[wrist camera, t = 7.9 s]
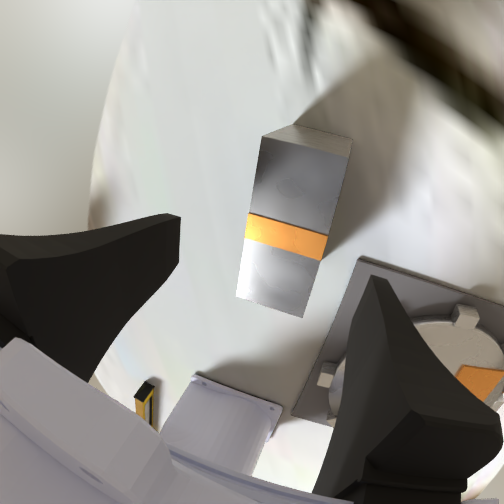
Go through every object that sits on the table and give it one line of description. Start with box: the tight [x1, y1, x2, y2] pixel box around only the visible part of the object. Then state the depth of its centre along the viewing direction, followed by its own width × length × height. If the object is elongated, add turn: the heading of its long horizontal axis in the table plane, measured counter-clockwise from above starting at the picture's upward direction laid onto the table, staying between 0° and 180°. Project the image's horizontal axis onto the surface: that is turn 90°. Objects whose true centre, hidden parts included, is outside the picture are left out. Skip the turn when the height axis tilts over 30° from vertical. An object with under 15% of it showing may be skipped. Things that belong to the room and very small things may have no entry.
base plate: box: [291, 259, 504, 427], centre depth 22 cm, size 18×18×1 cm
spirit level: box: [134, 381, 155, 428], centre depth 43 cm, size 34×1×3 cm, turn 165°
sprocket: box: [317, 303, 504, 428], centre depth 20 cm, size 17×17×4 cm
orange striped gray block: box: [236, 124, 353, 318], centre depth 16 cm, size 4×8×6 cm, turn 171°
